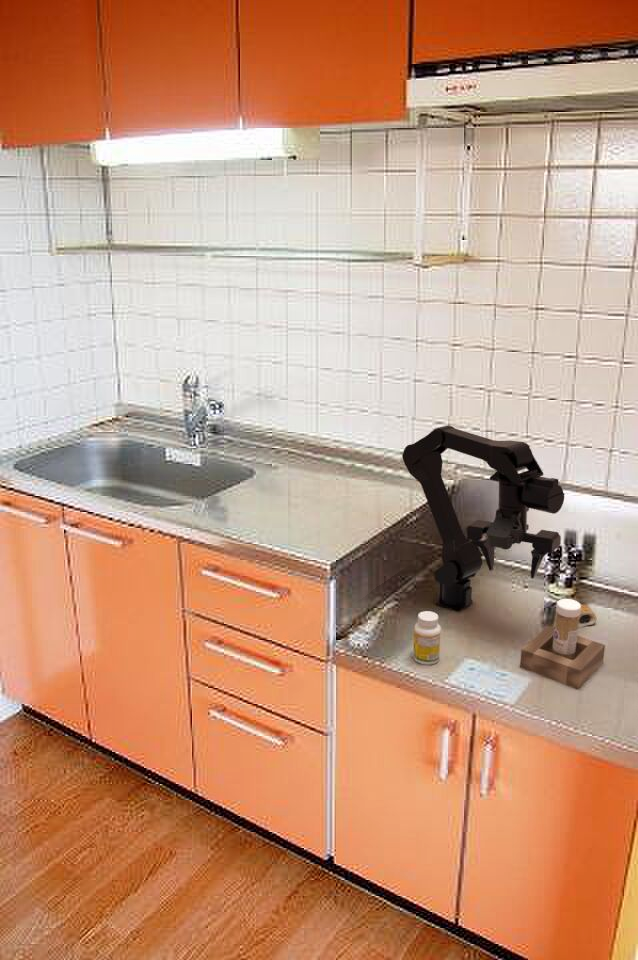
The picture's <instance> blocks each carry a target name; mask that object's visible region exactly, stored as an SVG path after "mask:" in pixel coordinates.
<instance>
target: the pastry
mask: <svg viewBox="0 0 638 960" xmlns="http://www.w3.org/2000/svg"><path fill="white" fill-rule="evenodd" d="M580 605H581V613H580V616H579V622H578V628H582V627H586V626H591V625H594V624H595V623H597V620H598V619H597V616H596V613H595V612H594V611H593V610H592V609H591V608H590V607H588V605H586V604H581V603H580Z"/></svg>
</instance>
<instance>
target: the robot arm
mask: <svg viewBox="0 0 638 960" xmlns="http://www.w3.org/2000/svg"><path fill="white" fill-rule="evenodd" d="M530 447H531V446H530V444H528V443H526V442H524V441H519V440H518V441H517V440H494V439H490V438H488V437H483V436H480V435H478V434H474V433H471V432H467V431H465V430H463V429H462V430H461V429H458V428H455V427H454V426H451V425H444V426H440V427H435V428H434V429H433V430H431V431H430V432H429V433H428V434H427V435H425V436H424V437H422V438H421V439H418V441H416V442H414V443H411V444H407V445H406V446H405V448H404V449H403V451H402V452H403V453H402V460H403V464H404V465H405V467H406V469H407V471H408V472H409V474H410V476H411V477H413V478H414V479H415V480H416V481H418V482H419V484H420V486H421V488H422V490H423V493H424V496H425V498H426V499H425V500H426V501H427V504H428V507H429V509H430V512H431V515H432V517H433V519H434V523H435V524H436V525H435V526H436V527H437V531H438V533H439V536H440V538H441V541H442V548H441V549H442V550H441V555H440V556H441V561H442V564H443V565H442V566H440V567H439V568H437V569H436V570H434V571H433V575H434V580H435V582H438V583H439V590H438V591H439V592H438V599H437V600H435V602H434V604H435V605H438V606H441V607H444V608H447V609H450V610H452V611H455V612H461V611H462V610H464V609H466V608H467V607H468V606H470V605H471V604H472V603H473V600H474V599H472V591H473V588H472V586H471V578H474V577H476V575H477V574H478V572H479V571H480V570H481V568H482V566H483V559H482V557H483V556H484V559H485V561H486V565H487V568H488V570H489V571H490V572H492V571H493V570H494V565H495V548H499V549H501V550H509V549H512V545H514V544H518V545H520V544H521V543H522V542H523V543H528V544H531V547H532V548H533V549H532V550H530V555H531V565H530V566H531V567H530V579H531V580H532V579H534V578H536V574H537V572H538V570H539V568H540V566H541V564H542V561H543V560H544V557H545V556H546V555H548V554H550V553H551V554H552V553H553V552H554V551H555V550H556V549H557V548H559V547H560V546H561V540H562V539H561V535H560V533H559V532H558V531H554V530H553V531H552V530H547V529H546V530H545V529H540V531H538V532H536V533H531V532H530V533H529V532H527V531H528V530H529V524H528V522H527V520H528V519H527V518H528V512H529V511H530V509H531V510H536V511H540V512H544V513H549V514H552V515H553V514H557V513H558V512H559V511H560V510H561V509H562V507H563V505H564V500H565V493H564V489H563V487H562V486H561V485H560V484H559V478H554V477H545V476H544V471H543V470H542V469H541V466H540V465H539V463H538V462H537V460H536V458H535V456H534V454H533V452H532V449H531V448H530ZM448 449H449V450H452V451H455V452H458V453H461V454H464V455H467V456H470V457H473V458H476V459H480V460H482V461H484V462H485V463H486V464H487V465H488V466H489V467H490V468H491V469H492V470H494V471H495V472H494V473H492V475H490V476H489V480H490V481H493V482H497V483H498V509H496V510H495V518H494V520H493V522H492V521H488V520H487V521H486V520H480V519H476V521H474V522H472V523H470V525H469V524H468V526H467V527H466V529H465V534H464V532H463V529H462V526H461V524H460V522H459V518H458V516H457V514H456V511H455V508H454V506H453V503H452V501H451V498H450V496H449V492H448V490H447V488H446V485H445V481H444V480H443V477H442V471H443V464H444V463H443V458H442V454H443V453H444V452H445V451H447V450H448ZM525 469H526V470H525ZM523 470H525V471H523ZM521 471H523V472H521ZM519 472H520V473H519Z"/></svg>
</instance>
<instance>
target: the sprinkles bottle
mask: <svg viewBox="0 0 638 960" xmlns="http://www.w3.org/2000/svg"><path fill="white" fill-rule="evenodd" d="M580 604H581V603H580V602H579V601H577V600H574V599H571V598H561V599H560V600H558V601H557V602H556V605H555V606H556V607H555V608H556V609H555V611H556V617H555V625H554V626H555V627H554V628H555V630H554V638H553V650H552V653H553V654H556V655H559V656H562V657H565V658H567V659H570V660H574V655H575V650H576V642H577V636H578V633H579V627H578V622H579V616H580V613H581V605H580Z"/></svg>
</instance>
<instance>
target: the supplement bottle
mask: <svg viewBox="0 0 638 960" xmlns="http://www.w3.org/2000/svg"><path fill="white" fill-rule="evenodd" d="M413 628H414V629H413V652H412V654H413V655H412V656H413V659H414V660H415V661H416V662H417V663H419V664H420V665H421V664H422V665H425V666H428V665H430V666H431V665H434V664H436V663H438V662H439V661H440V657H441V642H442V641H441V640H442V627H441V625H440V624H439V615H438V614H437V613H435V612H434V611H429V610H428V611H427V610H426V611H421V612H418V615H417V622H416V623H415V625H414V627H413Z"/></svg>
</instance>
